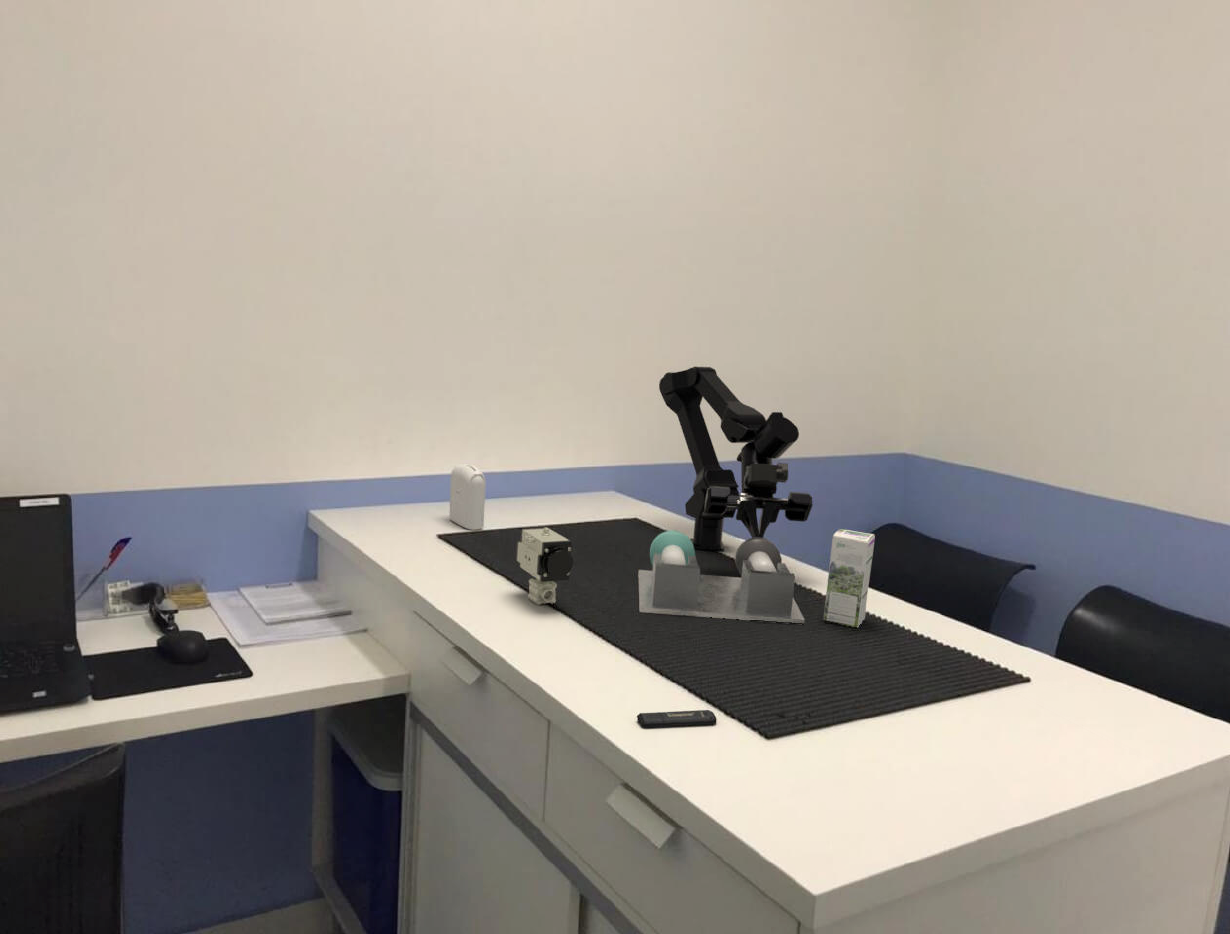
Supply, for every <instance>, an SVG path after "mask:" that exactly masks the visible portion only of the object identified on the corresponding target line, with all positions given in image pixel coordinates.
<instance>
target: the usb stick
mask: <svg viewBox="0 0 1230 934" xmlns="http://www.w3.org/2000/svg"><path fill="white" fill-rule="evenodd" d="M636 719H637V723H638V724H639V725H640V728H642V729H657V728H658V729H659V728H660V729H661V728H662V729H663V728H681V727H682V728H683V727H702V726H715V725H716V724H717V716H716V715H715V713H714V711H712V710H709V709H704V710H702V709H699V710H681V711H664V712H663V711H662V712H661V711H660V712H658V711H657V712H640V713H638V714H637V715H636Z"/></svg>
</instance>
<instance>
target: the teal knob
mask: <svg viewBox="0 0 1230 934" xmlns="http://www.w3.org/2000/svg"><path fill="white" fill-rule="evenodd" d="M690 539H691V538H689V536H687V535H686V534H685V533H683V532H681V531H678V530H666V531H663V532H661V533H659V534H658V535H656V537H654V539H653V541H652V542H651V545H650V549H649V558H650V564H651V565H652V567H653V559H654V553H655V554H661V558H662V564H675V565H688V556H694V557H696V551H695V550H696V549H695V548H694V546H693V544H692V542H691V540H690Z"/></svg>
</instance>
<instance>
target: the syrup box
mask: <svg viewBox="0 0 1230 934" xmlns="http://www.w3.org/2000/svg"><path fill="white" fill-rule="evenodd" d="M875 538H876V537H875V534H874V533H867V532H861V531H856V530H849V529H843V528H839V529H838V530H837V531H835V533H834V534H833V535H832V540H831V549H830V550H831V551H830V558H829V568H828V577H827V586H826V595H825V603H824V610H823V611H824V612H823V620H826V621H830V622H833V623H832V624H835V623H838V624H837V625H839V624H841V625H840V626H844V625H846V626H845V627H849V626H851V627H850V628H854V627H857V628H856V629H858V628H859V627H860V626H861V625H862V624H863V622H864V621H865V618H866V612H867V611H866V610H867V601H868V592H869V585H870V584H869V583H870V577H871V571H872V564H873V563H872V562H873V557H874V556H873V554H874V546H875ZM863 620H864V621H863ZM862 621H863V622H862ZM830 622H829V623H830ZM860 624H861V625H860ZM859 625H860V626H859Z"/></svg>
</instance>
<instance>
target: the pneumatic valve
mask: <svg viewBox="0 0 1230 934" xmlns="http://www.w3.org/2000/svg"><path fill="white" fill-rule="evenodd" d="M515 547H516V549H515V560H516V561H517V562H518V567H519V568H521V570H523V571H525V572H527V573H528V574H529V575H530V576H532V577H534V578H532V577H531V578H529V580H528V584H529V585H528V589H529V590H528V592H529V593H528V595H527V598H528V599H529V600H530V601H532V602H533V603H534V604H535V605H537V606H540V605H542V604H549V603H550V604H551V605H553V603H554V604H555V603H556V599H557V598H556V596H557V594H556V588H557V586H558V584H557V583H556V582H559V581H569V580H570V572H571V571H572V570H573V565H574V558H573V555H572V541H571V540H570V539H567V538H566V537H564V536H563V535H561V534H559V533H557V532H556V531H553V530H552V529H550V528H549V527H537V528H536V527H533V528H520V537H519V540H516V546H515Z"/></svg>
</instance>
